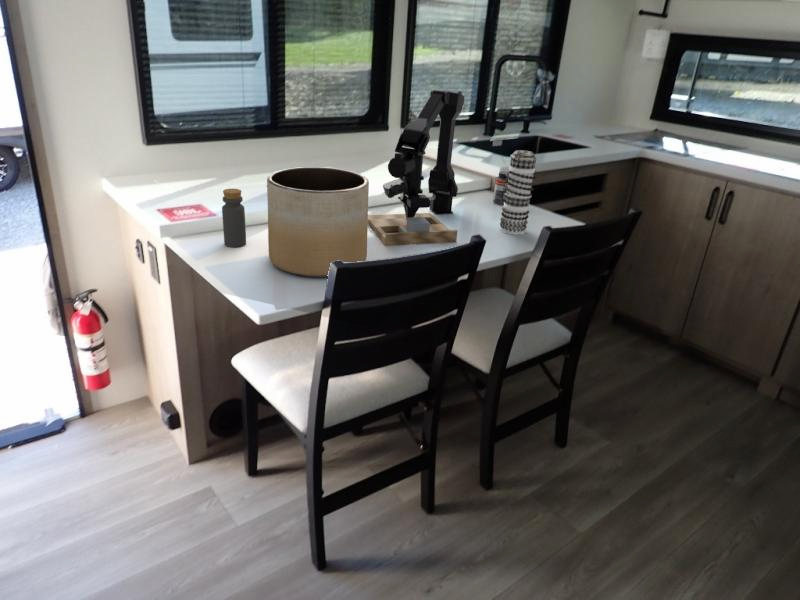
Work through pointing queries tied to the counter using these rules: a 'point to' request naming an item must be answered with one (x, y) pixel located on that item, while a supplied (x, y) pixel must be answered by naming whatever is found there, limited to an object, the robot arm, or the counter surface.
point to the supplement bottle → (500, 188)
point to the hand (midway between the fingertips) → (408, 221)
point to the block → (417, 224)
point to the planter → (316, 219)
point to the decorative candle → (518, 192)
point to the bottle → (233, 218)
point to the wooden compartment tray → (395, 233)
